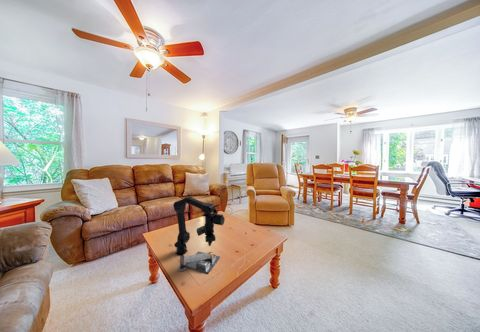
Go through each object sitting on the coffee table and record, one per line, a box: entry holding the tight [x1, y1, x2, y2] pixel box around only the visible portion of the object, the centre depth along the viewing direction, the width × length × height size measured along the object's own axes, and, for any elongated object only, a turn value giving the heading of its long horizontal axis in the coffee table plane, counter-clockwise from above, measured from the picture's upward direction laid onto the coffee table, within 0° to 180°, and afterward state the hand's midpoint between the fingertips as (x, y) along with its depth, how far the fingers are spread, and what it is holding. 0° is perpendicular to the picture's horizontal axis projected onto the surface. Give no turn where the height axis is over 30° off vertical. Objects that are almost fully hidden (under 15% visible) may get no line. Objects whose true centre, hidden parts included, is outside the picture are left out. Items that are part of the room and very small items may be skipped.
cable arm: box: [184, 251, 214, 264], centre depth 102 cm, size 18×2×3 cm, turn 106°
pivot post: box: [177, 254, 187, 273], centre depth 99 cm, size 5×5×8 cm
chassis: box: [184, 250, 221, 275], centre depth 106 cm, size 18×16×3 cm
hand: (209, 244), depth 107 cm, fingers open, 3 cm apart
